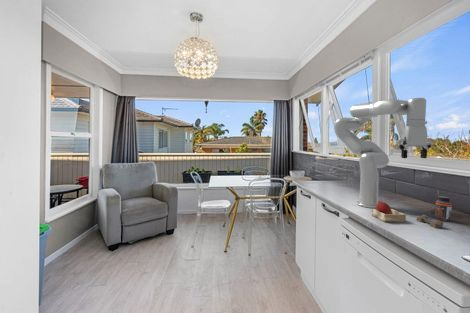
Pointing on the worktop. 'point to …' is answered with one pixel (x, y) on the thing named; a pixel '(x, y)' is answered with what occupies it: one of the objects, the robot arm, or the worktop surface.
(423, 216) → the clip
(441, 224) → the gray square bar
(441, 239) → the worktop surface
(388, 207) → the onion
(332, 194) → the worktop surface
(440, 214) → the supplement bottle
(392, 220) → the wooden tray
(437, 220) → the clip
